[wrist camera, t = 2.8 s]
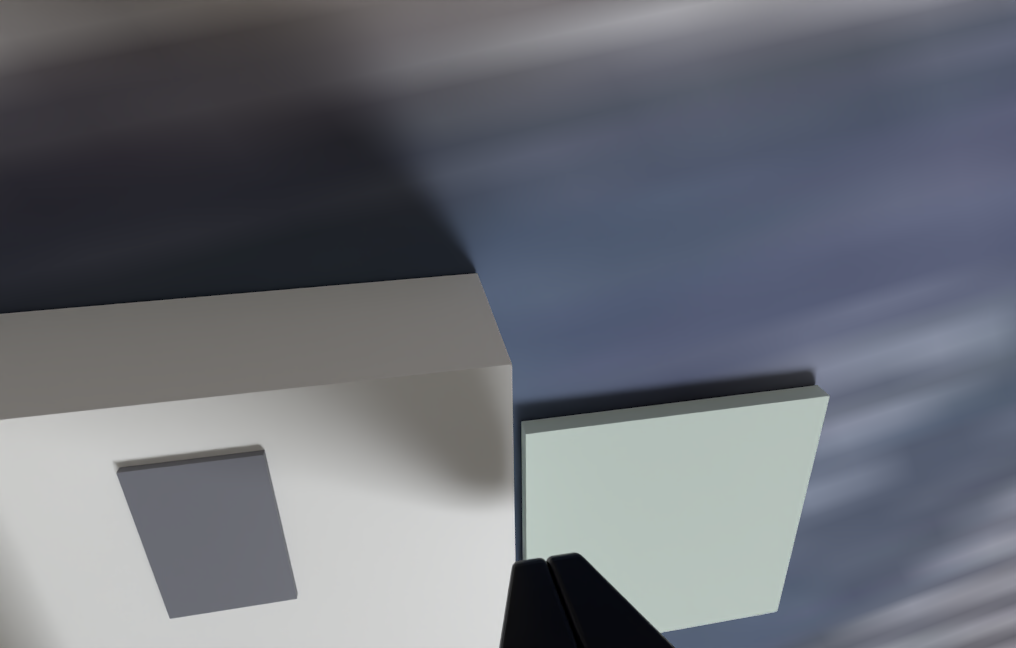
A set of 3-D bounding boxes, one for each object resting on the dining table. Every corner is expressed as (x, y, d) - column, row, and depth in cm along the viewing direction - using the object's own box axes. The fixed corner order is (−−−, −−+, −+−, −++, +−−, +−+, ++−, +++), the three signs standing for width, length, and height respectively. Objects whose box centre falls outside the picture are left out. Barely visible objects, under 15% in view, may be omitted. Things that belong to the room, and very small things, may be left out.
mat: (767, 597, 15) (777, 611, 15) (523, 641, 14) (527, 656, 14) (816, 385, 13) (829, 395, 12) (521, 421, 12) (525, 434, 11)
